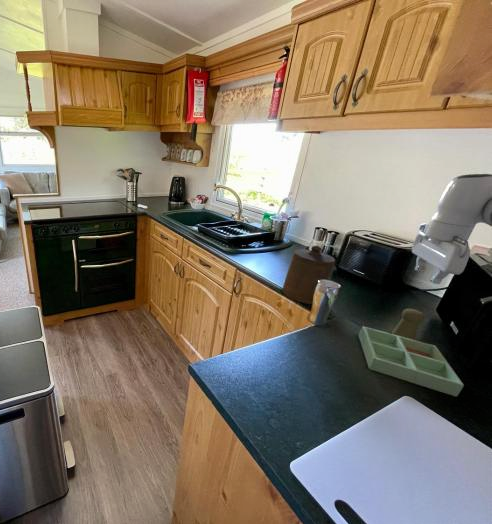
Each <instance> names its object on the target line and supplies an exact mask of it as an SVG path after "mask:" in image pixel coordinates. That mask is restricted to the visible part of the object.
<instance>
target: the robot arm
mask: <svg viewBox="0 0 492 524" xmlns="http://www.w3.org/2000/svg"><path fill="white" fill-rule="evenodd" d="M480 223H482V224H486V225H488V226H490V227H492V173H472V174H471V173H470V174H462V175H458V176H456V177H454V178H453V179H451V180H450V182H449V183H448V185H447V186H446V187H445V189H444V191H443V193H442V195H441V197H440V198H439V201H438V203H437V209H436V212H435V213H434V215H433V216H432V217H431V218H430V221H429V222H427V223H421V224H419V226H418V228H417V231H418V233H416V236H415V237H414V241H413V243H412V247H411V253H412V254H413V255H415V256H417V257H416V261H415V267H414V271H416V272H417V273H424V272H425V270H426V267H425V266H426V262H427V263H428V264H430V265H431V266H432V267H435V268H436V273H435V274H434V275H431V277H430V280H429V281H430V282H431V283H432V284H434V285H440V284H441V283H442V281H443V280H444V279H445V278H446V277H447V276H449V275H458V276H459V275H461V274H462V273H463V272H464V271H465V268H466V266H467V265H468V264H467V263H468V261H469V258H470V256H471V248H470V246H469V240H470V237H471V235H472V233H473V231H474V229H475V227H476V225H478V224H480Z"/></svg>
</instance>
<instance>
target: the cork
mask: <svg viewBox="0 0 492 524" xmlns="http://www.w3.org/2000/svg"><path fill="white" fill-rule="evenodd" d="M401 316H402V317H401V318H400V320H399V321H398V323H397V324H396V326H395V328H394V329H393V330H392V331H391V333H390V334H394V335H397V336H401V337H405V338H408V339H412V340H416V336H417V332H418V330H419V329H418V328H419V325H420V323H422V322H423V321H424V320H425V314H424V313H423V312H421V311H420V310H417V309H415V308H405V309H403V311H402V312H401Z"/></svg>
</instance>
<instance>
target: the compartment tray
mask: <svg viewBox="0 0 492 524" xmlns="http://www.w3.org/2000/svg"><path fill="white" fill-rule="evenodd" d="M358 338H359V342H360V345H361V349H362V351H363V354H364V357H365V361H366V364H367V366H368V369H369V370H371V371H374V372H378V373H381V374H383V375H387V376H390V377H393V378H397V379H400V380H403V381H405V382H409V383H412V384H415V385H419V386H421V387H425V388H428V389H431V390H433V391H437V392H440V393H443V394H445V395H446V394H447V395H448V396H449V395H450V396H453V397H456V398H458V396H459V394H460V393H461V391H462V390H463V388H464V386H465V385H464V383H463V382H462V381H461V379H460V378H459V376H458V375H457V373H456V372H455V371H454V369H453V368H452V366H451V365H450V363H449V362H448V360H447V359H446V357H444V355H443V354H442V352H441V351H440V350H439V348H438V347H437V345H434V344H430V343H427V342H423V341H420V340H417V339H415V340H412V339H408V338H405V337H401V336H397V335H394V334H391V333H390V332H387V331H382V330H379V329H376V328H371V327H367V326H364V325H362V327H361V328H360V331H359V334H358Z"/></svg>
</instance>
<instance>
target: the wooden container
mask: <svg viewBox="0 0 492 524" xmlns="http://www.w3.org/2000/svg"><path fill="white" fill-rule="evenodd" d="M310 248H311V249H303V248H302V249H301V248H299V249H295V250H294V251H293V254H292V257H291V261H290V264H289V267H288V269H287V273H286V276H285V279H284V283H283V286H282V293H283V295H284V296H286V297H287V298H289V299H290V300H293V301H295V302H298V303H302V304H307V305H312V301H313V294H314V291H315V288H316V286H317V284H318V281H319V280H321V279H325V280H329V279H330V276H331V273H332V269H333V268H334V266H335V263H336V259H335V258H334V257H333V256H332V255H329V254H327V253H324V252H321V251H322V248H321V246H319V245H312V246H311V247H310Z"/></svg>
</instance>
